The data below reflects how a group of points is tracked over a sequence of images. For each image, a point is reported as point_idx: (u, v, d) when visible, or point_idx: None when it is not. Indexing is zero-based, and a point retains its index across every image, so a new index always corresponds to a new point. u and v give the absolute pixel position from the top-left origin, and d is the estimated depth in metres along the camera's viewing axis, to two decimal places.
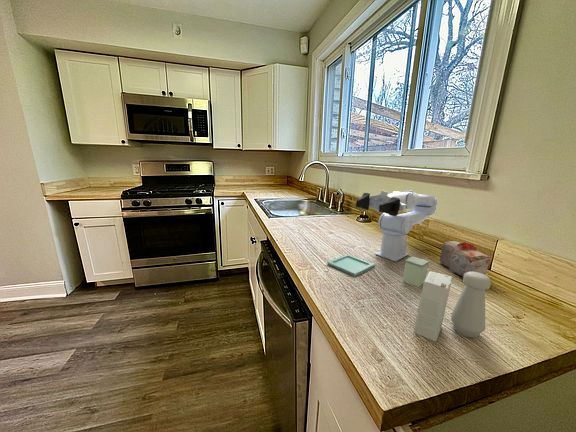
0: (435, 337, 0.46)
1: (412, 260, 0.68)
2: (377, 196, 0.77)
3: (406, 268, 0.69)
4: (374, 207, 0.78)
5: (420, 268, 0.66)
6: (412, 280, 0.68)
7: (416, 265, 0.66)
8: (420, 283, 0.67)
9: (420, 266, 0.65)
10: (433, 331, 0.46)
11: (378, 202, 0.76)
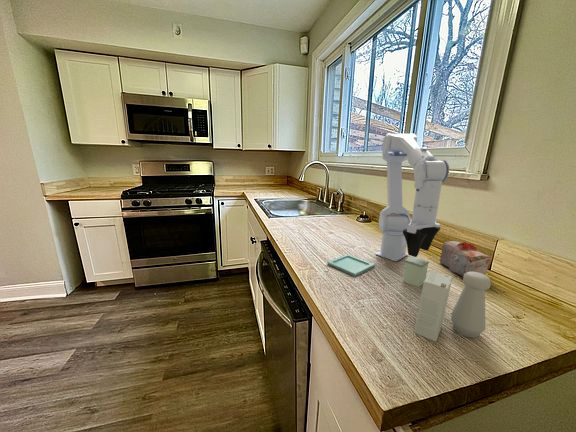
0: (435, 337, 0.46)
1: (412, 260, 0.68)
2: None
3: (406, 268, 0.69)
4: None
5: (420, 268, 0.66)
6: (412, 280, 0.68)
7: (416, 265, 0.66)
8: (420, 283, 0.67)
9: (420, 266, 0.65)
10: (433, 331, 0.46)
11: (422, 228, 0.65)
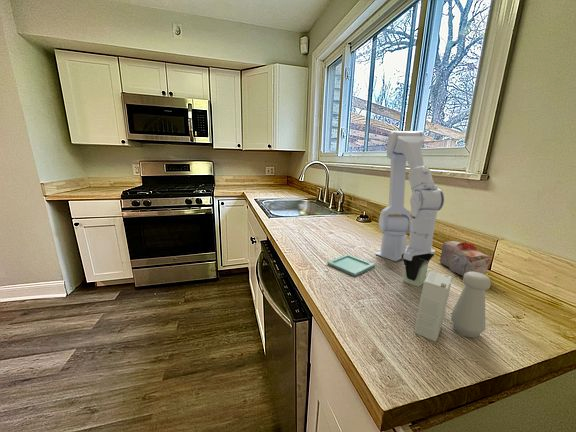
0: (435, 337, 0.46)
1: None
2: None
3: None
4: None
5: (420, 268, 0.66)
6: (412, 280, 0.68)
7: None
8: (420, 283, 0.67)
9: None
10: (433, 331, 0.46)
11: None
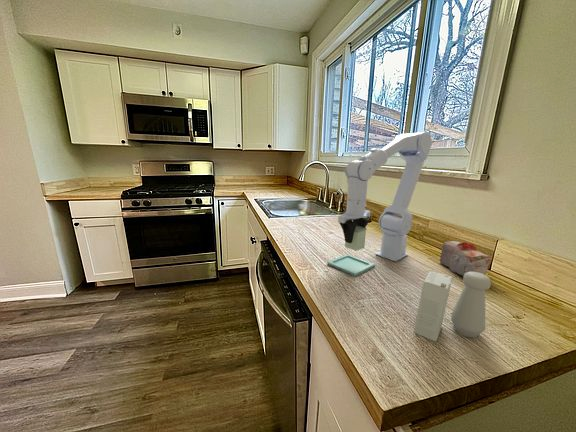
0: (435, 337, 0.46)
1: None
2: None
3: None
4: None
5: (357, 233, 0.73)
6: (351, 245, 0.75)
7: None
8: (358, 247, 0.75)
9: (356, 231, 0.73)
10: (433, 331, 0.46)
11: (354, 219, 0.75)
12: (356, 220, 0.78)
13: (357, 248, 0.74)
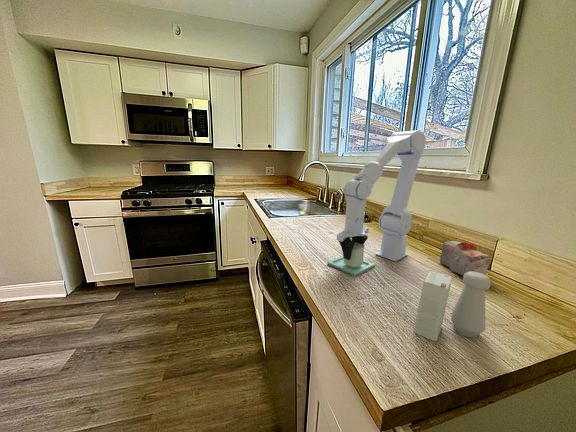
0: (435, 337, 0.46)
1: None
2: None
3: None
4: None
5: (355, 251, 0.74)
6: (350, 262, 0.77)
7: None
8: (356, 264, 0.76)
9: (355, 249, 0.74)
10: (433, 331, 0.46)
11: (352, 236, 0.76)
12: (354, 237, 0.79)
13: (355, 265, 0.76)
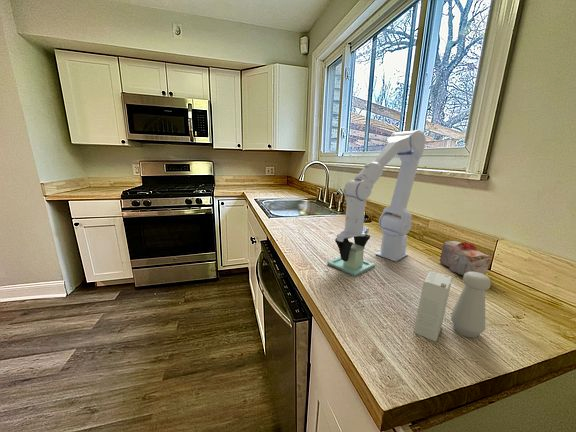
0: (435, 337, 0.46)
1: None
2: None
3: None
4: None
5: (355, 252, 0.75)
6: (349, 263, 0.77)
7: (352, 250, 0.75)
8: (356, 266, 0.76)
9: (354, 251, 0.74)
10: (433, 331, 0.46)
11: None
12: (357, 236, 0.80)
13: (355, 267, 0.76)
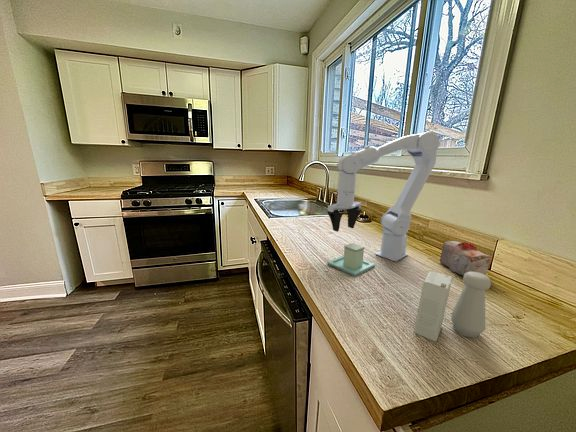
0: (435, 337, 0.46)
1: (350, 246, 0.77)
2: None
3: (345, 253, 0.78)
4: None
5: (355, 252, 0.75)
6: (349, 263, 0.77)
7: (352, 250, 0.75)
8: (356, 266, 0.76)
9: (354, 251, 0.74)
10: (433, 331, 0.46)
11: (344, 209, 0.82)
12: (350, 210, 0.86)
13: (355, 267, 0.76)
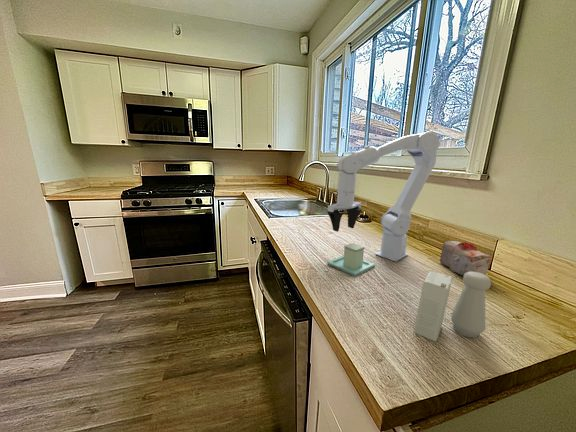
0: (435, 337, 0.46)
1: (350, 246, 0.77)
2: None
3: (345, 253, 0.78)
4: None
5: (355, 252, 0.75)
6: (349, 263, 0.77)
7: (352, 250, 0.75)
8: (356, 266, 0.76)
9: (354, 251, 0.74)
10: (433, 331, 0.46)
11: (344, 209, 0.82)
12: (350, 210, 0.86)
13: (355, 267, 0.76)
